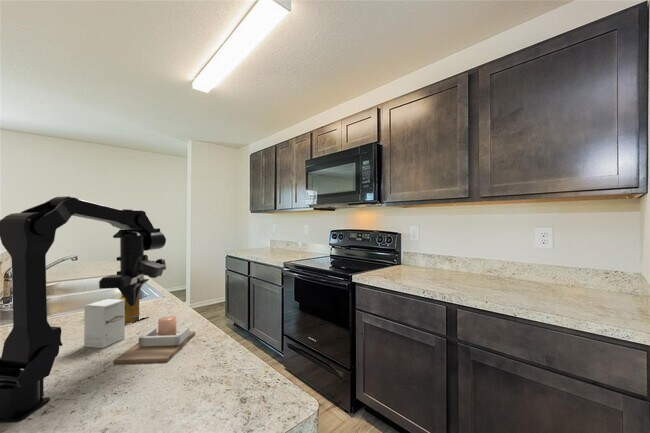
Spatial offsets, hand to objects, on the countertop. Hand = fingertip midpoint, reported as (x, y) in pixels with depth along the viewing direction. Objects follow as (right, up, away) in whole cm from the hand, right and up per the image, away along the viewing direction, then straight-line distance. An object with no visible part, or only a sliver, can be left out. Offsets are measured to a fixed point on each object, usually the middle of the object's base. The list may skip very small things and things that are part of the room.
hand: (132, 305), depth 83 cm
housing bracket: (+8, -12, +3) cm, 14 cm away
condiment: (-17, -14, +25) cm, 33 cm away
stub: (+7, -12, +6) cm, 15 cm away
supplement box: (-12, -14, +5) cm, 19 cm away
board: (+7, -13, +1) cm, 15 cm away
